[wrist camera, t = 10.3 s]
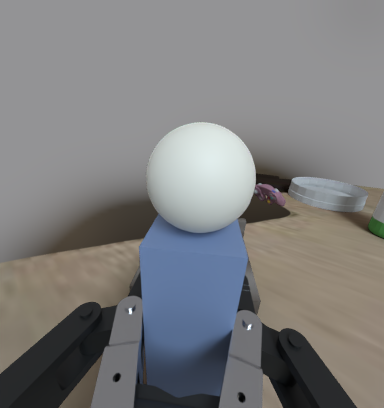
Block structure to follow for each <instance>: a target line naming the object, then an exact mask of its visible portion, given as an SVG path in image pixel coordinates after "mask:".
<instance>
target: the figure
mask: <svg viewBox="0 0 384 408" xmlns="http://www.w3.org/2000/svg"><path fill="white" fill-rule="evenodd" d="M255 182H256V173H255V166H254V162H253V159H252V156H251V154H250V152H249V150H248V148H247V147H246V145H245V144H244V143H243V141H242V140H241V139H240V138H239V137H238V136H237V135H235V134H234V133H233V132H231V131H230V130H228V129H226V128H224V127H222V126H220V125H216V124H213V123H206V122H200V123H199V122H198V123H197V122H196V123H190V124H186V125H183V126H180V127H178V128H176V129H174V130H173V131H171V132H169V133H168V134H167V135H166V136H165V137H163V138H162V139H161V141H160V142H159V143H158V144H157V146H156V147H155V149H154V150H153V152H152V154H151V156H150V159H149V162H148V165H147V171H146V184H147V191H148V195H149V197H150V200H151V202H152V204H153V206H154V207H155V209H156V210H157V212H158V213H159V214H158V216H157V218H156V219H155V221H154V223H153V224H152V226H151V228H150V230H149V231H148V233H147V234H146V236H145V238H144V239H143V241H142V243H141V244H140V246H139V253H140V270H141V288H142V305H143V323H144V340H145V358H146V375H147V385H152V386H156V387H158V388H160V389H162V390H164V391H165V392H167V393H169V394H171V395H173V396H175V397H178V398H179V397H185V396H190V395H196V394H201V393H202V394H208V395H214V396H219V395H220V390H221V385H222V379H223V374H224V369H225V363H226V359H227V356H228V351H229V346H230V340H231V335H232V330H233V328H234V324H235V319H236V314H237V309H238V305H239V300H240V295H241V290H242V286H243V281H244V276H245V271H246V267H247V262H248V256H247V252H246V249H245V245H244V241H243V238H242V234H241V230H240V227H239V223H238V218H239V217H240V216H241V214H242V213H243V212H244V211H245V209H246V208H247V206H248V205H249V203H250V200H251V198H252V196H253V193H254V189H255Z"/></svg>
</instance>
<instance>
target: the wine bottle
mask: <svg viewBox="0 0 384 408" xmlns="http://www.w3.org/2000/svg"><path fill="white" fill-rule="evenodd" d="M368 228H369V230H370V231H371V232H372V233H374V234H375V235H377V236H379V237H382V238H384V192H383V194H382V196H381V199H380V201H379V203H378V205H377V207H376V209H375V211H374V213H373V215H372V218H371V220H370V222H369V224H368Z"/></svg>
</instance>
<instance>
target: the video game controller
mask: <svg viewBox="0 0 384 408" xmlns="http://www.w3.org/2000/svg"><path fill="white" fill-rule="evenodd" d="M254 194H255V195H256V196H257V197H258V198H259V200H261V201H263V200H264V199H266V196H267V199H266V202H267V203H268V204H270V205H271V204H272V203H274V202H275V203H277V204H278V205H279V206H284V205H285V199H284V197H283V196H282V194H281V193H280V192H279V191H278V189H274V188H273V187H272V186H270V185H267V184H263V185H262V184H261V183H259V184H257V185H255V189H254ZM265 195H266V196H265Z"/></svg>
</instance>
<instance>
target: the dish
mask: <svg viewBox="0 0 384 408" xmlns="http://www.w3.org/2000/svg"><path fill="white" fill-rule="evenodd" d="M288 194H289V195H290V196H291V197H293V198H294V199H296V200H298V201H300V202H302V203H305V204H308V205H311V206H315V207H318V208H322V209H327V210H332V211H340V212H357V211H360V210H362V209H363V207H364V205H365V201H366V198H367V196H368V192H367V191H365V190H363V189H361V188H359V187H356V186H354V185H350V184H346V183H343V182H338V181H334V180H329V179H322V178H312V177H297V178H293V179H292V182H291V186H289V191H288Z"/></svg>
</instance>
